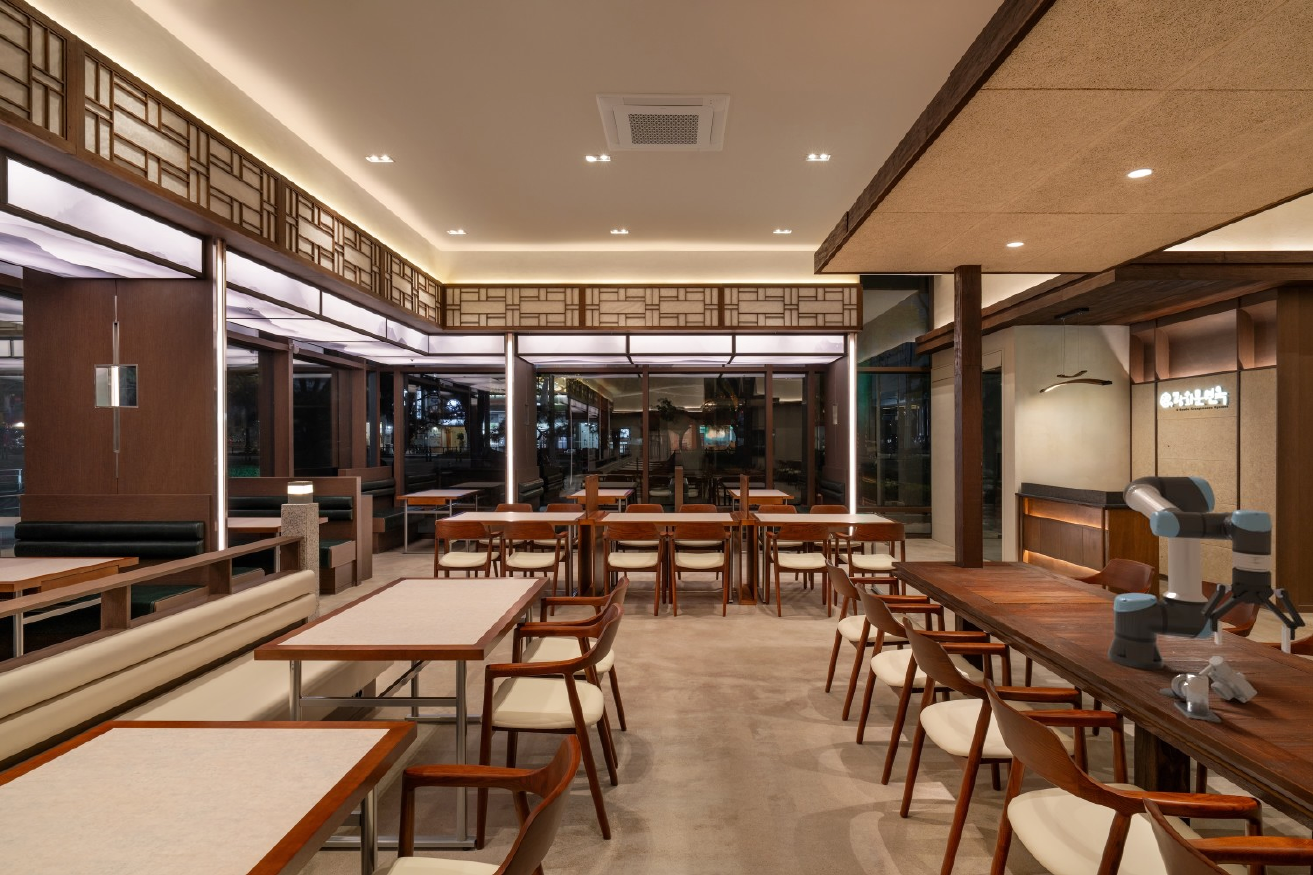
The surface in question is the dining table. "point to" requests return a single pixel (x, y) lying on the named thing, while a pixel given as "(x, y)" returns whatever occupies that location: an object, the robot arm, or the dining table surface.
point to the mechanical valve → (1227, 681)
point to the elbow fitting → (1194, 696)
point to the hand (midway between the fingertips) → (1251, 647)
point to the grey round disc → (1168, 693)
